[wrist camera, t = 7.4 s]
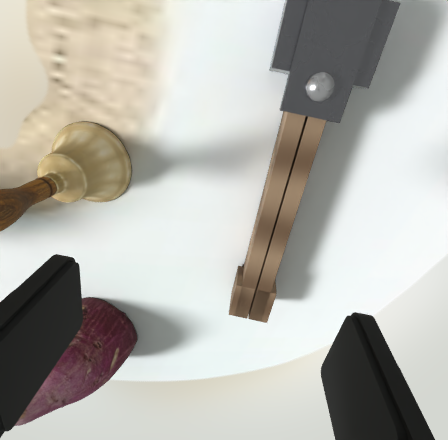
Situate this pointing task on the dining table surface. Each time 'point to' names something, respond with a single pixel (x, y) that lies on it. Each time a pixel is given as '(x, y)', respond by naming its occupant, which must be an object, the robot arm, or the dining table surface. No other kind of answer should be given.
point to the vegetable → (85, 359)
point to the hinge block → (329, 52)
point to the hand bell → (73, 172)
